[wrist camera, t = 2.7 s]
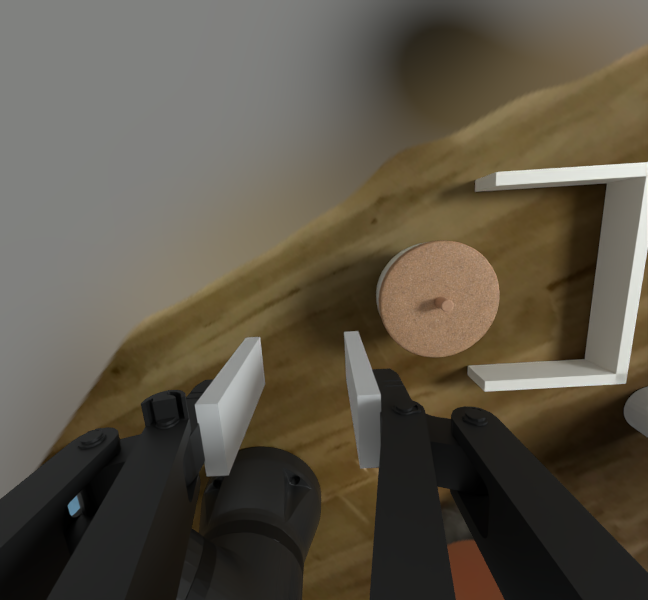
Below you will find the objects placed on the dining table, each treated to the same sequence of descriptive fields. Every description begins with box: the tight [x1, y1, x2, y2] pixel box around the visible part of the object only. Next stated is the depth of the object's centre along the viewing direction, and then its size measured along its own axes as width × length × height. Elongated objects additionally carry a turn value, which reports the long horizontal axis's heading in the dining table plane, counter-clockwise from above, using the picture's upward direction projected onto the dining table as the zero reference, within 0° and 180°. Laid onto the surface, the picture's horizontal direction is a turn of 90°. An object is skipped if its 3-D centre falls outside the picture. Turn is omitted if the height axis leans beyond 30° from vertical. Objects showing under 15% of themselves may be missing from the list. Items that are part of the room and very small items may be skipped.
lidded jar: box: [376, 241, 500, 357], centre depth 30 cm, size 11×11×9 cm
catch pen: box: [467, 162, 648, 392], centre depth 32 cm, size 15×22×4 cm
